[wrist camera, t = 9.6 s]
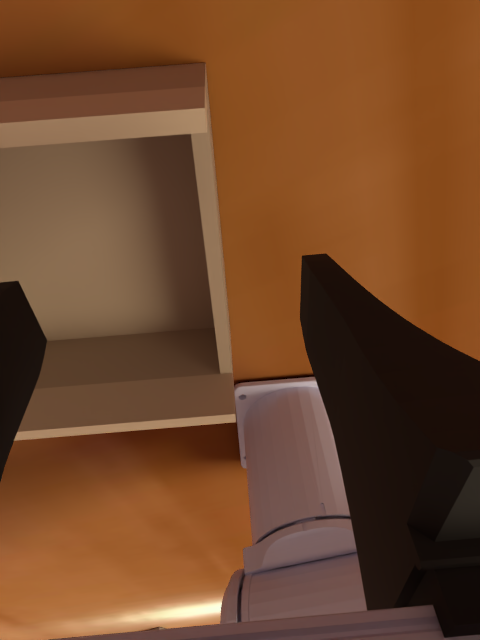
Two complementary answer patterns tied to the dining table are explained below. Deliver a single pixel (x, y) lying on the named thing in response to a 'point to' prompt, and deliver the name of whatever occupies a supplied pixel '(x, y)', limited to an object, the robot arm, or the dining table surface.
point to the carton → (117, 248)
